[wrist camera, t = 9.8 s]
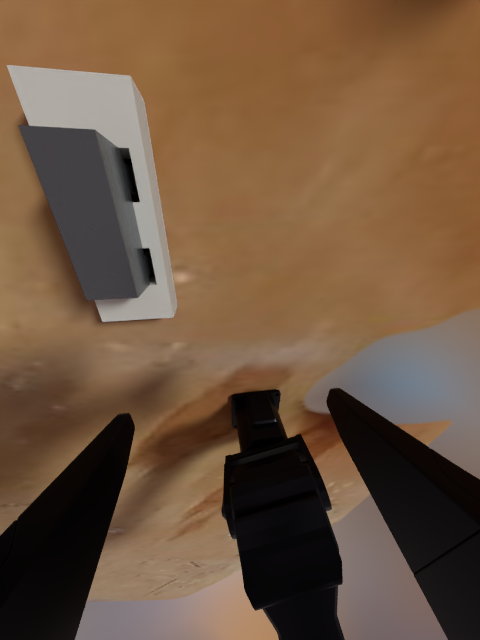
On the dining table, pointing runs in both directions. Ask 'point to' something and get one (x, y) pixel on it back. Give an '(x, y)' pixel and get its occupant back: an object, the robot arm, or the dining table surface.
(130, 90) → the rail
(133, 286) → the dark grey blocky piece
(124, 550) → the dining table surface
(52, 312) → the dining table surface
